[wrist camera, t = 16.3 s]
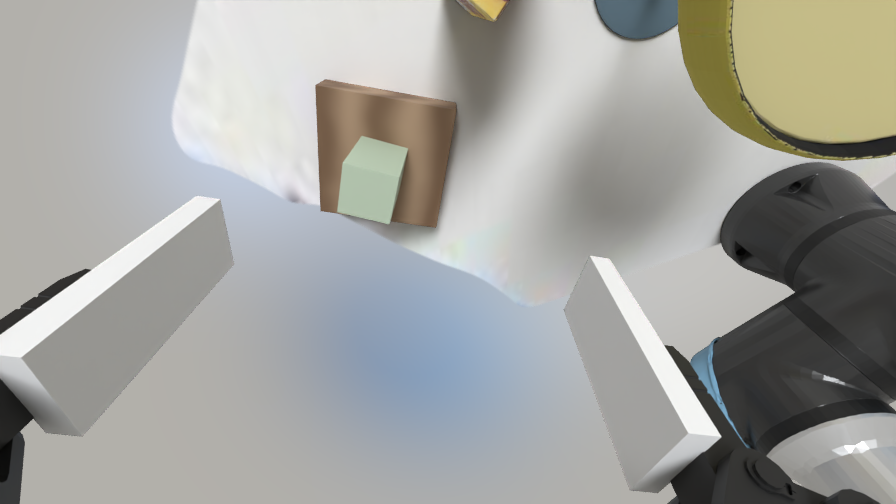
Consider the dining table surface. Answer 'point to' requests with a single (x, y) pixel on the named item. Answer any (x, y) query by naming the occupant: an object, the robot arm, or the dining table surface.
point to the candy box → (484, 8)
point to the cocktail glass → (785, 68)
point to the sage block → (371, 180)
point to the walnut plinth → (395, 122)
